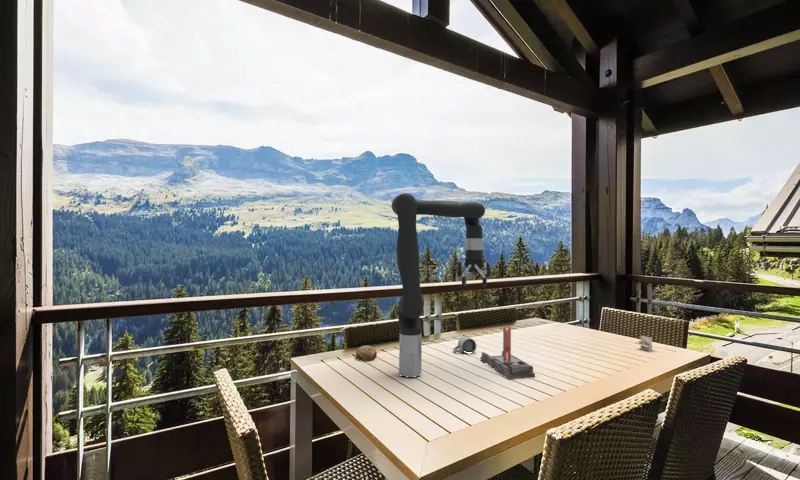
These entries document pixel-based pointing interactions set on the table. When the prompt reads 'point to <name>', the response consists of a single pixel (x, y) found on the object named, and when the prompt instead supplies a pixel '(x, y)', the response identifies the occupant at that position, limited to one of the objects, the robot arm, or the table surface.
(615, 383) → the table surface
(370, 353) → the bread roll
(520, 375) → the press base
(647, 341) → the architectural model
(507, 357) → the slider
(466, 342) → the ceramic mug
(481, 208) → the robot arm
